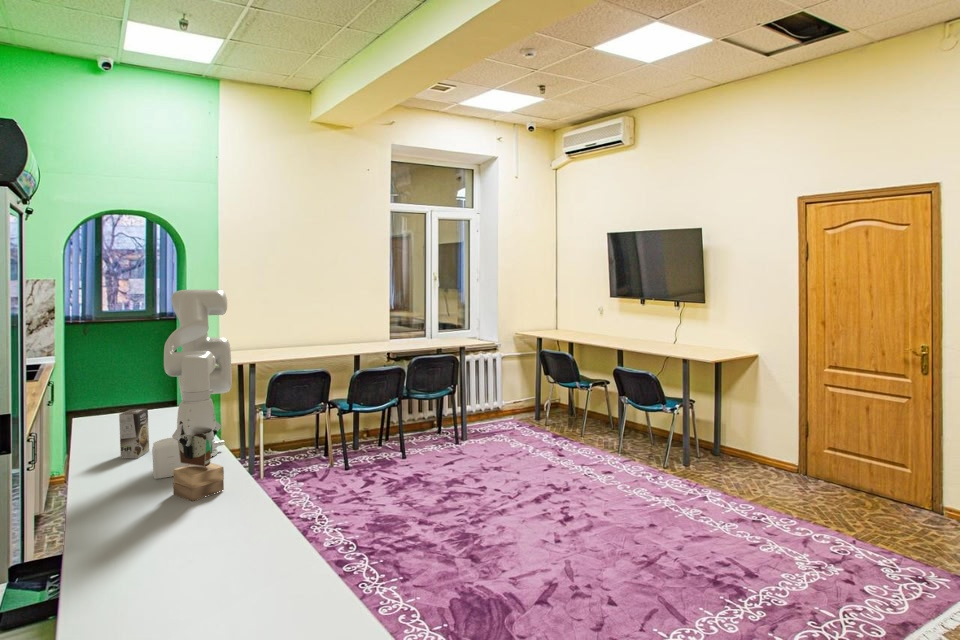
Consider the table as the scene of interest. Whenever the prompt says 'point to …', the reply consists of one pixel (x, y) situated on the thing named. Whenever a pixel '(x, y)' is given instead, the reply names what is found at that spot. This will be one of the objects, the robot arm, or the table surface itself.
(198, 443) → the food container
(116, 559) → the table surface
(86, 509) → the table surface
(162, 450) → the photo printer
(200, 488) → the tan cardboard flat block
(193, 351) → the robot arm
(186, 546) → the table surface
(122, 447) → the coffee box
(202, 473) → the oak slab
